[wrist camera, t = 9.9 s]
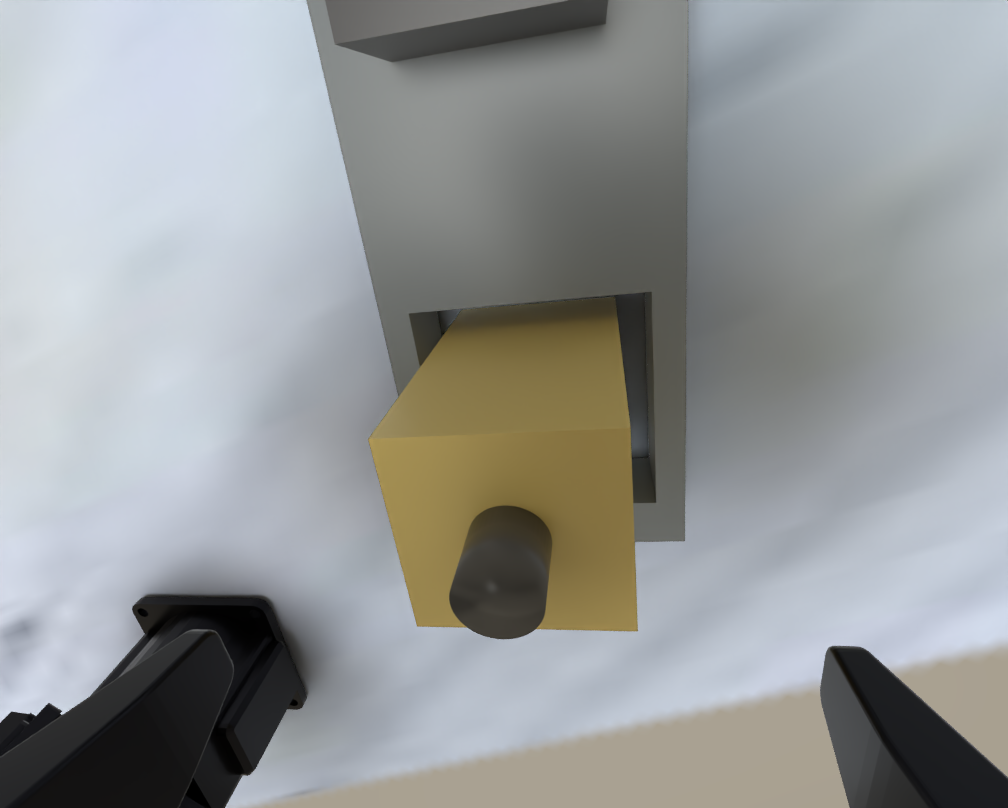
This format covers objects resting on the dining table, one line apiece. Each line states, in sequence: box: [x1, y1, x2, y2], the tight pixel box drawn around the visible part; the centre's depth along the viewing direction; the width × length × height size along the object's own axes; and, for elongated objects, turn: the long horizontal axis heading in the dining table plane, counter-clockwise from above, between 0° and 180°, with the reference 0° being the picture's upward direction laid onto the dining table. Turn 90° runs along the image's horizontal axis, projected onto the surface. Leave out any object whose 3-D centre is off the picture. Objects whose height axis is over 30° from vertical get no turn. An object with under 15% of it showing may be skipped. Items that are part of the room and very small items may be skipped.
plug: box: [368, 297, 638, 639], centre depth 13 cm, size 5×5×10 cm
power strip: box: [307, 0, 688, 542], centre depth 13 cm, size 8×20×6 cm, turn 8°
